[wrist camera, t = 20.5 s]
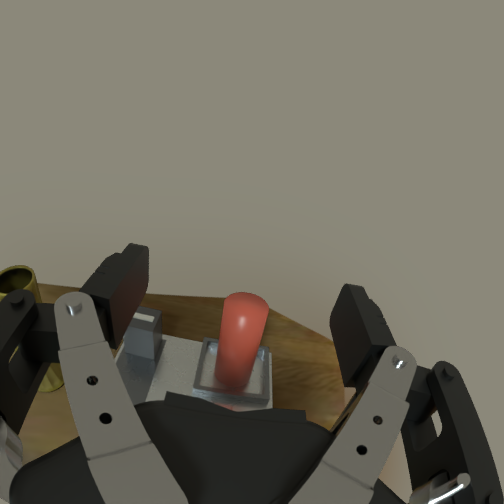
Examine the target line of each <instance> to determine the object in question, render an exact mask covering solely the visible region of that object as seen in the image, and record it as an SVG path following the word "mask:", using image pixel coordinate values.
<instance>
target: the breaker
mask: <svg viewBox="0 0 504 504" xmlns="http://www.w3.org/2000/svg"><path fill="white" fill-rule="evenodd" d="M123 340H124V346H125V352H126V353H129V354H133V355H137V356H141V357H145V358H149V359H153V360H155V357H156V354H157V352H158V349H159V346H160V344H161V341H162V311H160V310H155V309H151V308H146V307H142V306H139V307H138V309H137V311H136V312H135V314H134V316H133V318H132V320H131V322H130V324H129V326H128V328H127V330H126V332H125V334H124V336H123Z"/></svg>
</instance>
